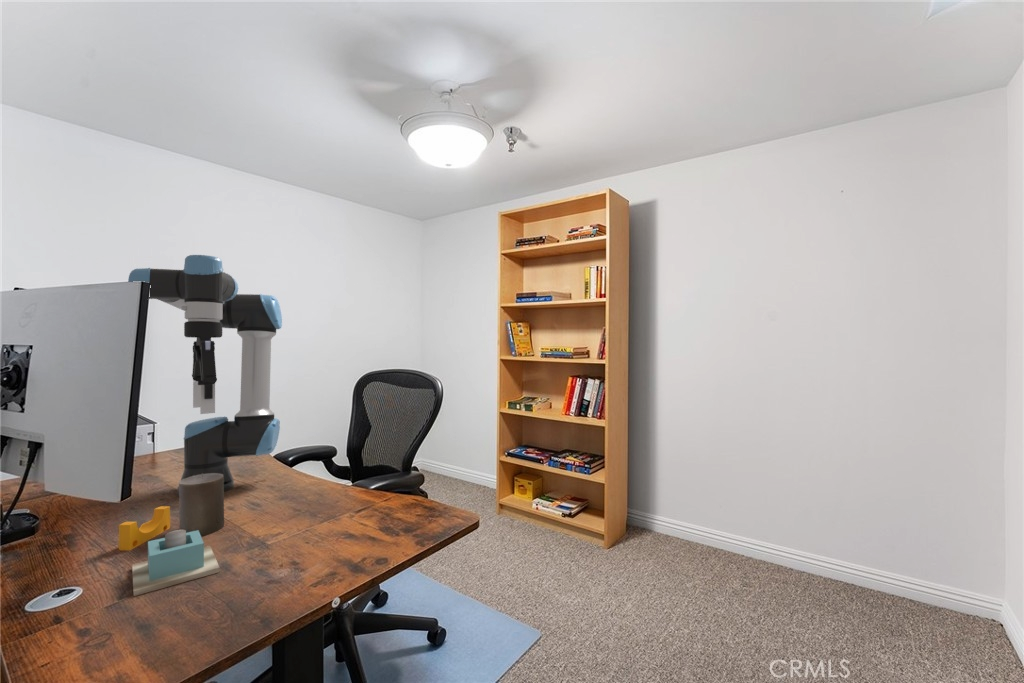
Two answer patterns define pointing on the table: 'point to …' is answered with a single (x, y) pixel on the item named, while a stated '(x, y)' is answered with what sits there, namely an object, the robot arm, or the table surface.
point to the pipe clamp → (144, 529)
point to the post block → (145, 585)
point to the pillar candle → (201, 503)
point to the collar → (175, 556)
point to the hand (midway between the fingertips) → (203, 410)
